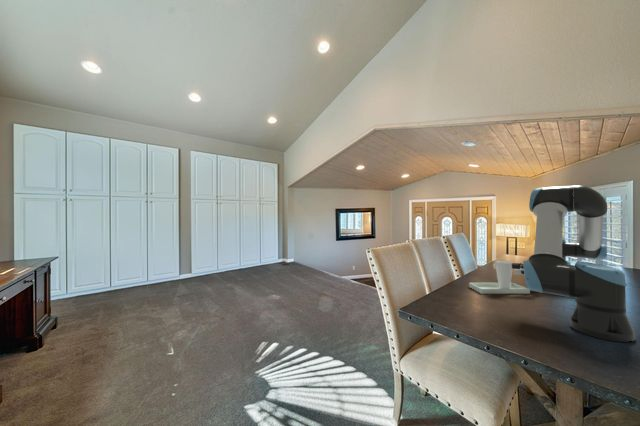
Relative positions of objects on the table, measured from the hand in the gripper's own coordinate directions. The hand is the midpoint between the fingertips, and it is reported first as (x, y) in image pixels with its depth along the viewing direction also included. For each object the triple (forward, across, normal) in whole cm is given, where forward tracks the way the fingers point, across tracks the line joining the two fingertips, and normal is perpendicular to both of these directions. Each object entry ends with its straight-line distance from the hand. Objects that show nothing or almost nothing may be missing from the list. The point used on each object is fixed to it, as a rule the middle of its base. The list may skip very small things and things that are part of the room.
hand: (503, 269), depth 135 cm
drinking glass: (+2, -3, -11) cm, 11 cm away
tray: (+4, 0, -11) cm, 12 cm away
